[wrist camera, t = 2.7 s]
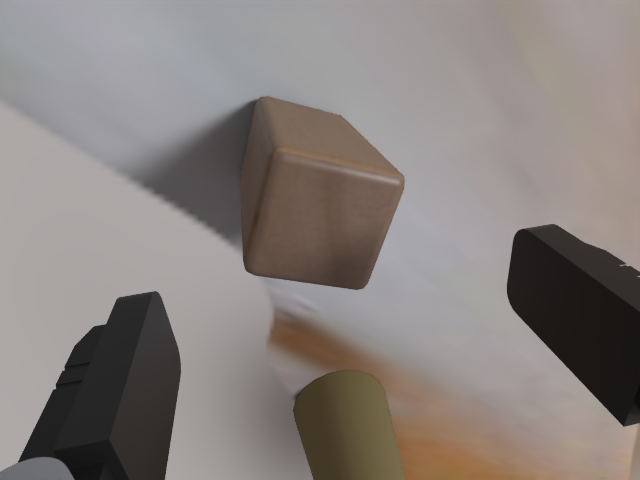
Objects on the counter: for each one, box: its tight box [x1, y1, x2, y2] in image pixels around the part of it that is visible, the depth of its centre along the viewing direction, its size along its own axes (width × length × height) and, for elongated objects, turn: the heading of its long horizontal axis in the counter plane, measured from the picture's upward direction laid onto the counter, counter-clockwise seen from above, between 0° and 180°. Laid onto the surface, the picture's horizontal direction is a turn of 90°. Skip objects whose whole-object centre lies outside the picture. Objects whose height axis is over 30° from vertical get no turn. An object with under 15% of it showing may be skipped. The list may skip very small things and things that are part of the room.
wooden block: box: [240, 96, 405, 290], centre depth 15 cm, size 4×4×8 cm
